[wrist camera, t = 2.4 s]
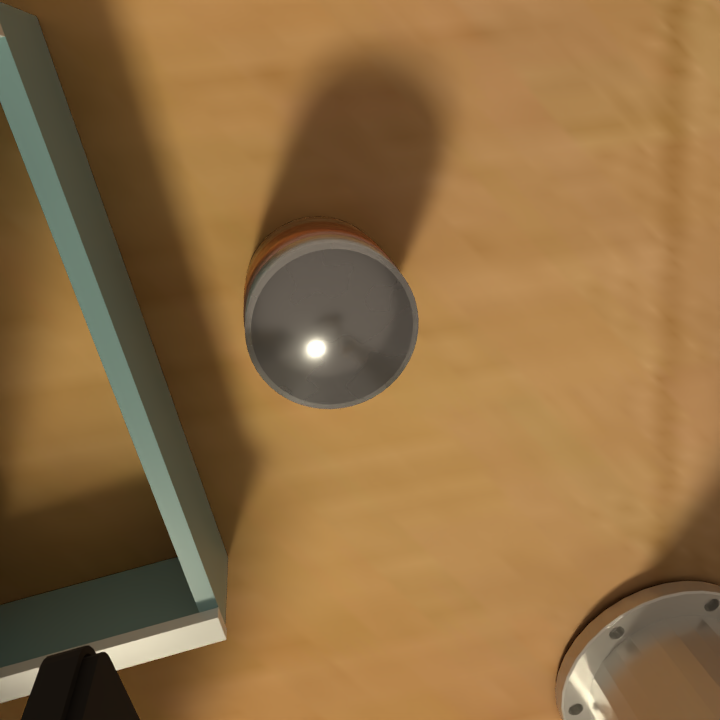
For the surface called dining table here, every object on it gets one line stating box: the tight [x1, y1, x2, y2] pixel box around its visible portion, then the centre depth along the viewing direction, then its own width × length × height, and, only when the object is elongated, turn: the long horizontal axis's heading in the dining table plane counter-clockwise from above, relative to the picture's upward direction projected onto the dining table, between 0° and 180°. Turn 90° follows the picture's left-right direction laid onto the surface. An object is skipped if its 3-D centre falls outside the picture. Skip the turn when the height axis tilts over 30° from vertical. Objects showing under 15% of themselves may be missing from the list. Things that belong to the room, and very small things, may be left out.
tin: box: [244, 216, 418, 409], centre depth 26 cm, size 6×6×6 cm
